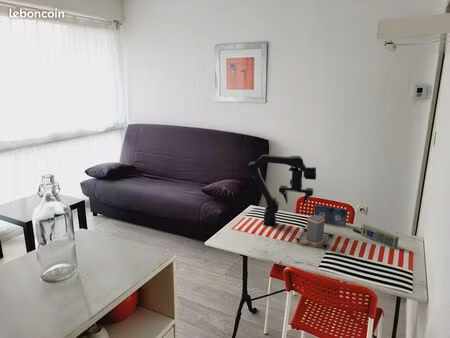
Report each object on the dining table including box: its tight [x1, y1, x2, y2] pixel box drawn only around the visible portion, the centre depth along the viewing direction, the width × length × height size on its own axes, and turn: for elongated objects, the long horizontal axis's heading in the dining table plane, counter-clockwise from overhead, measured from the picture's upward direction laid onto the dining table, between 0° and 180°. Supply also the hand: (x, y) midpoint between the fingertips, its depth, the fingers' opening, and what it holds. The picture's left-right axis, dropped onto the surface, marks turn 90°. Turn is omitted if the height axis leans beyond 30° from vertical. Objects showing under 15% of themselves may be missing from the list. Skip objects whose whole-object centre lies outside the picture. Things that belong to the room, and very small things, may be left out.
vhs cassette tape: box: [313, 204, 348, 227], centre depth 201 cm, size 18×3×10 cm, turn 65°
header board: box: [298, 232, 325, 249], centre depth 178 cm, size 12×12×4 cm
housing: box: [306, 214, 325, 244], centre depth 175 cm, size 6×6×12 cm
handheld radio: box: [352, 222, 400, 250], centre depth 180 cm, size 7×3×25 cm
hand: (295, 204), depth 194 cm, fingers open, 9 cm apart
